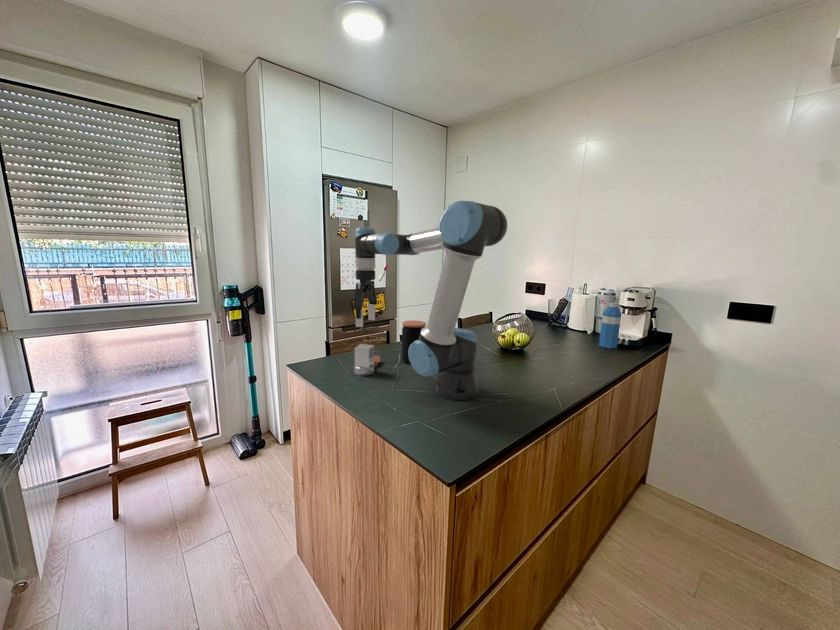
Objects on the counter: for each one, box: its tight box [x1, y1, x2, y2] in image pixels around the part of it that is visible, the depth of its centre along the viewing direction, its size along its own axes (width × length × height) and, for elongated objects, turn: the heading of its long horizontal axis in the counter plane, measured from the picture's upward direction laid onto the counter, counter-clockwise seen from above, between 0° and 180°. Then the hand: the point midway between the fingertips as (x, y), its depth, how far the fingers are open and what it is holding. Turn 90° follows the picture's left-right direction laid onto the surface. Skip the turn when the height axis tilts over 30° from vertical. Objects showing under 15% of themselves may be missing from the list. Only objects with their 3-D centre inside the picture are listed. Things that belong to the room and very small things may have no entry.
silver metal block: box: [354, 343, 375, 368], centre depth 135 cm, size 6×6×8 cm
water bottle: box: [598, 302, 622, 349], centre depth 182 cm, size 9×9×25 cm
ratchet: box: [354, 355, 381, 377], centre depth 140 cm, size 18×8×7 cm, turn 168°
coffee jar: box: [401, 320, 427, 365], centre depth 150 cm, size 11×11×18 cm
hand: (365, 323), depth 132 cm, fingers open, 13 cm apart
